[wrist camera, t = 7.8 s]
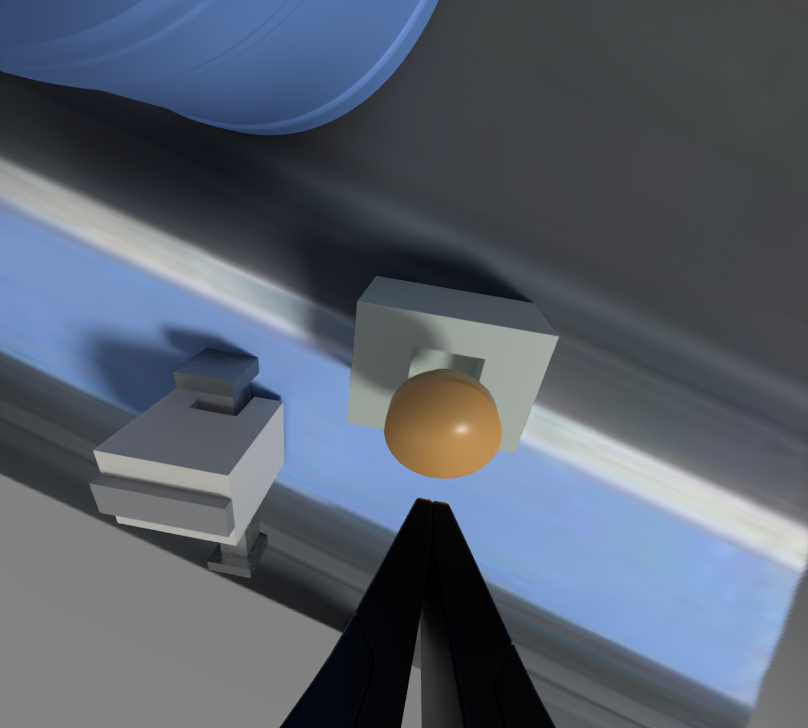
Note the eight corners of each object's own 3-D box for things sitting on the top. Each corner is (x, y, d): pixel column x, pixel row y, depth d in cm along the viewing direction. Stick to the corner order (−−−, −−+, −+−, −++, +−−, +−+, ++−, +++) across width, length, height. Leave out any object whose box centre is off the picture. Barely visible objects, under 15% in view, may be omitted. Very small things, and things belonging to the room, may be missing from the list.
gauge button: (477, 435, 16) (485, 487, 13) (389, 419, 16) (378, 467, 13) (502, 355, 14) (516, 396, 11) (402, 338, 14) (392, 374, 11)
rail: (267, 543, 29) (250, 578, 26) (229, 536, 29) (208, 569, 26) (258, 358, 21) (232, 382, 18) (205, 349, 21) (172, 371, 18)
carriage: (284, 462, 24) (230, 556, 18) (191, 445, 24) (107, 532, 18) (283, 401, 22) (222, 485, 16) (181, 383, 22) (80, 459, 16)
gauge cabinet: (500, 402, 20) (514, 453, 16) (360, 376, 21) (340, 421, 17) (533, 303, 18) (558, 336, 14) (370, 274, 18) (349, 300, 14)
